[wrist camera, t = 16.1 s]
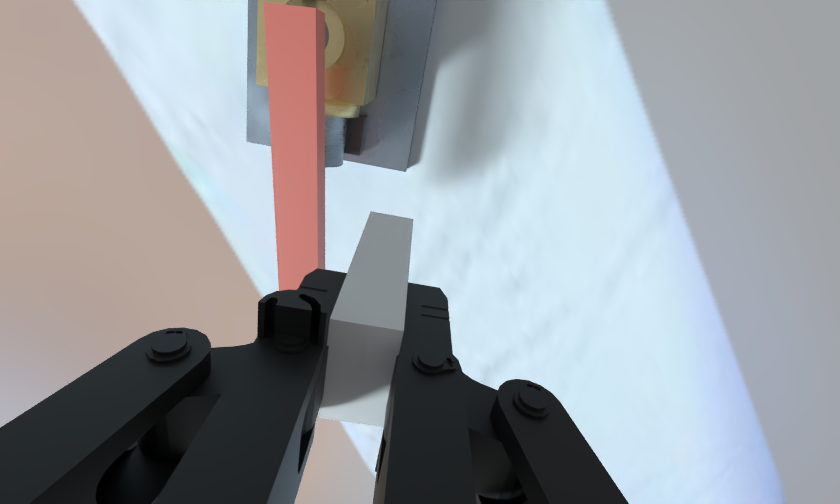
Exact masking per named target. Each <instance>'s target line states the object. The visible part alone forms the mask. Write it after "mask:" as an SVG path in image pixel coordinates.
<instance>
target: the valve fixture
mask: <svg viewBox="0 0 840 504" xmlns="http://www.w3.org/2000/svg"><path fill="white" fill-rule="evenodd" d="M263 2H266V3H275V4H284V5H294V6H303V7H312V8H317V9H318V10H320V11H322V12H324V13H325V23H326V24H327V27H328V31H329V41H328V44H327V47H326V48H325V167H338V166H341V165H343V160H346V161H352V162H357V163H362V164H367V165H373V166H378V167H383V168H388V169H394V170H399V171H404V172H406V170H407V164H408V159H409V153H410V147H411V142H412V136H413V130H414V125H415V119H416V113H417V107H418V102H419V96H420V90H421V85H422V79H423V73H424V68H425V62H426V56H427V51H428V45H429V39H430V33H431V28H432V22H433V16H434V11H435V5H436V0H248V61H247V142H252V143H257V144H262V145H268V146H271V132H270V113H269V95H268V76H267V58H266V39H265V21H264V3H263Z"/></svg>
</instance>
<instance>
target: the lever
mask: <svg viewBox="0 0 840 504" xmlns="http://www.w3.org/2000/svg"><path fill="white" fill-rule="evenodd" d="M263 3H264V21H265V39H266V58H267V76H268V95H269V113H270V132H271V150H272V169H273V187H274V206H275V224H276V242H277V261H278V279H279V291H282V290H289V289H290V290H297V289H298V288H299V285H300V284H301V282H302V280H303V278H304V277H305V275H307V274H309V273H310V272H312V271H314V270H315V269H317V268H319V269H325V48H326V47H327V44H328V41H329V31H328V27H327V24H326V23H325V13H324V12H322V11H320V10H318V9H317V8H312V7H303V6H294V5H284V4H275V3H266V2H263Z"/></svg>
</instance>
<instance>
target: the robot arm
mask: <svg viewBox="0 0 840 504" xmlns="http://www.w3.org/2000/svg"><path fill="white" fill-rule="evenodd" d="M412 228H413V219H409V218H404V217H398V216H393V215H387V214H382V213H376V212H370V215H369V218H368V220H367V223H366V225H365V228H364V231H363V233H362V236H361V239H360V241H359V244H358V246H357V249H356V252H355V254H354V257H353V259H352V262H351V265H350V267H349V270H348V273H342V272H336V271H331V270H325V269H319V268H317V269H315V270H314V271H312V272H310V273H309V274H307V275H305V277H304V278H303V280H302V282H301V284H300V285H299V288H298V289H297V290H290V289H289V290H282V291H276V292H273V293H271V294H268V295H266V296H265V297H263V298H262V299H261V300H260V301H259V302H258V336H257V338H256V340H255V341H254V343H251V344H247V345H241V346H234V347H217V348H211V343H210V341H209V339H208V338H207V336H206V335H205V334H203V333H201V332H199V331H198V330H194V329H188V328H168V329H164V330H160V331H156V332H153V333H150V334H148V335H146V336H144V337H142V338H140V339H138V340H137V341H135V342H133V343H132V344H130V345H129V346H127V347H126V348H124V349H122V350H121V351H119V352H118V353H116V354H115V355H113V356H112V357H110V358H108V359H107V360H105V361H104V362H102V363H101V364H99V365H98V366H96V367H94V368H93V369H91V370H90V371H88V372H87V373H85V374H83V375H82V376H80V377H79V378H77V379H76V380H74V381H73V382H71V383H69V384H68V385H66V386H65V387H63V388H62V389H60V390H59V391H57V392H55V393H54V394H52V395H51V396H49V397H48V398H46V399H44V400H43V401H41V402H40V403H38V404H37V405H35V406H34V407H32V408H31V409H29V410H28V411H26V412H24V413H23V414H21V415H20V416H18V417H17V418H15V419H14V420H12V421H10V422H9V423H7V424H6V425H4V426H2V427H1V428H0V504H294V502H295V498H296V495H297V492H298V488H299V485H300V482H301V478H302V475H303V471H304V468H305V465H306V462H307V458H308V455H309V452H310V448H311V445H312V442H313V438H314V429H315V421H316V418H317V415H318V411H319V408H320V411H319V418H325V419H332V420H338V421H345V422H352V423H359V424H366V425H372V426H379V427H384V430H383V435H382V440H381V444H380V449H379V454H378V459H377V464H376V468H375V471H376V472H377V474H376V482H375V491H374V498H373V504H629V503H628V502H627V500H626V499H625V497H624V496H623V494H622V493H621V491H620V490H619V489H618V487H617V486H616V484H615V483H614V481H613V480H612V478H611V477H610V475H609V474H608V472H607V471H606V469H605V468H604V466H603V465H602V463H601V462H600V460H599V459H598V457H597V456H596V454H595V453H594V451H593V450H592V449H591V447H590V446H589V444H588V443H587V441H586V440H585V438H584V437H583V435H582V434H581V432H580V431H579V429H578V428H577V426H576V425H575V423H574V422H573V420H572V419H571V417H570V416H569V414H568V413H567V411H566V410H565V409H564V407H563V406H562V404H561V403H560V401H559V400H558V399H557V398H556V397H555V396H554V395H553V394H552V393H551V392H550V391H548V390H547V389H545V388H544V387H542V386H541V385H538V384H536V383H533V382H531V381H528V380H520V379H514V380H509V381H506V382H504V383H503V384H502V385H501V386H500V387H499V389H498V390H495V389H493V388H490V387H488V386H485V385H483V384H481V383H479V382H477V381H475V380H473V379H471V378H470V377H468V376H467V375H465V374H464V373H463V372H462V369H461V366H460V364H459V361H458V359H457V358H456V357H455V356H454V355H453V354H452V343H451V332H450V321H449V312H448V300H447V297H446V296H445V295H444V293H443V292H442V291H441V289H440V288H437V287H431V286H425V285H420V284H414V283H408V275H409V264H410V252H411V240H412Z"/></svg>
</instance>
